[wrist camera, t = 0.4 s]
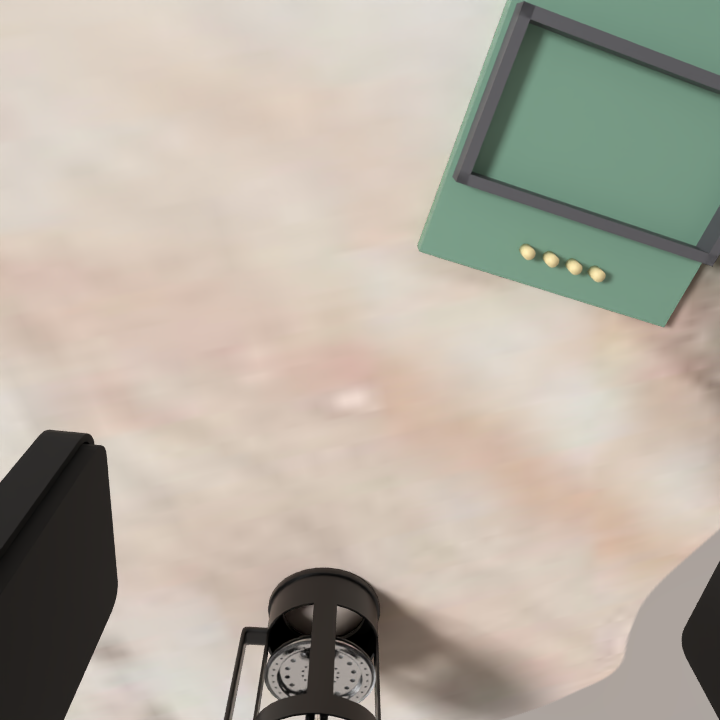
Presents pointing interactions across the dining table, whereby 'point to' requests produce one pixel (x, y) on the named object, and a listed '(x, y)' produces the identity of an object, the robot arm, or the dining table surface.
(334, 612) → the french press
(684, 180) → the circuit board
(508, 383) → the dining table surface
